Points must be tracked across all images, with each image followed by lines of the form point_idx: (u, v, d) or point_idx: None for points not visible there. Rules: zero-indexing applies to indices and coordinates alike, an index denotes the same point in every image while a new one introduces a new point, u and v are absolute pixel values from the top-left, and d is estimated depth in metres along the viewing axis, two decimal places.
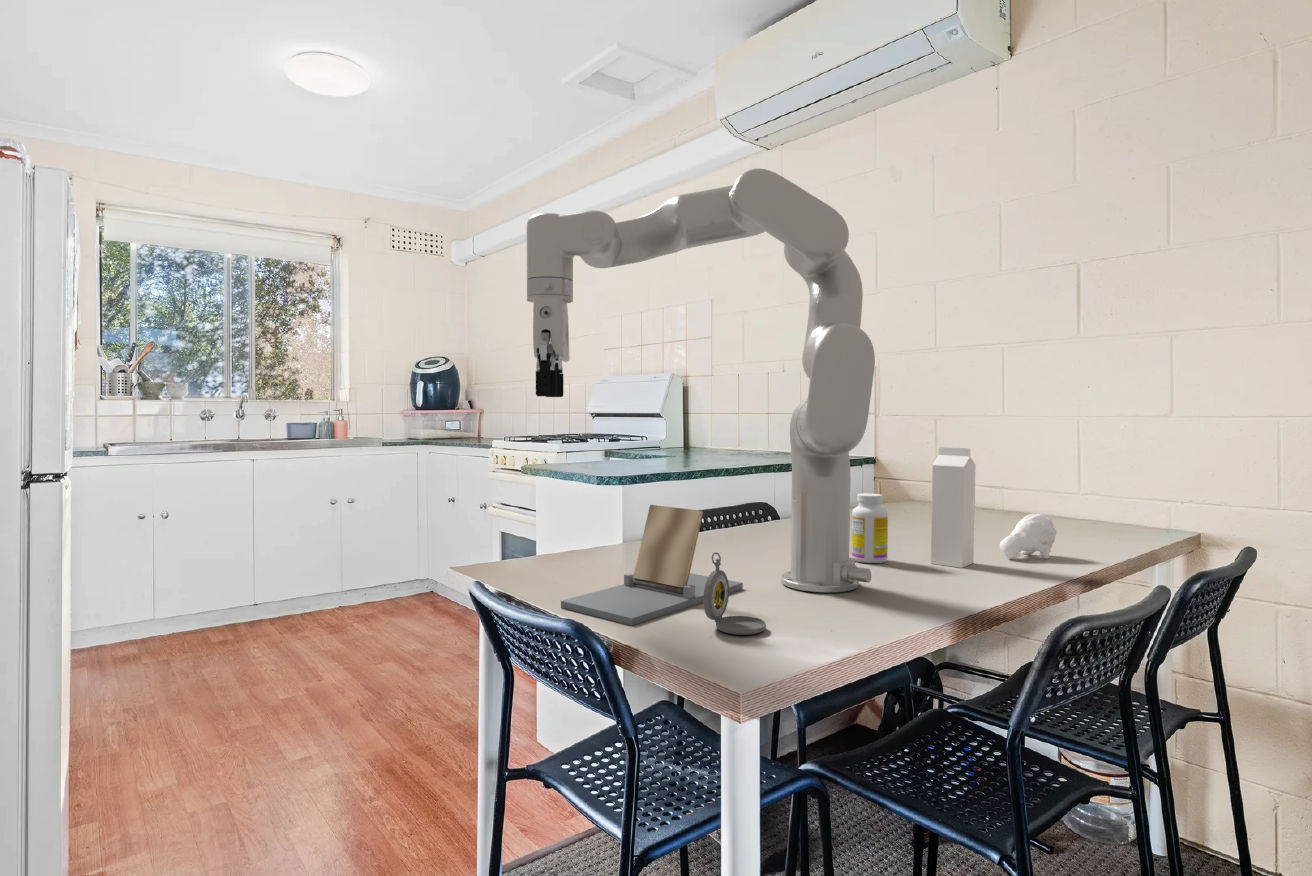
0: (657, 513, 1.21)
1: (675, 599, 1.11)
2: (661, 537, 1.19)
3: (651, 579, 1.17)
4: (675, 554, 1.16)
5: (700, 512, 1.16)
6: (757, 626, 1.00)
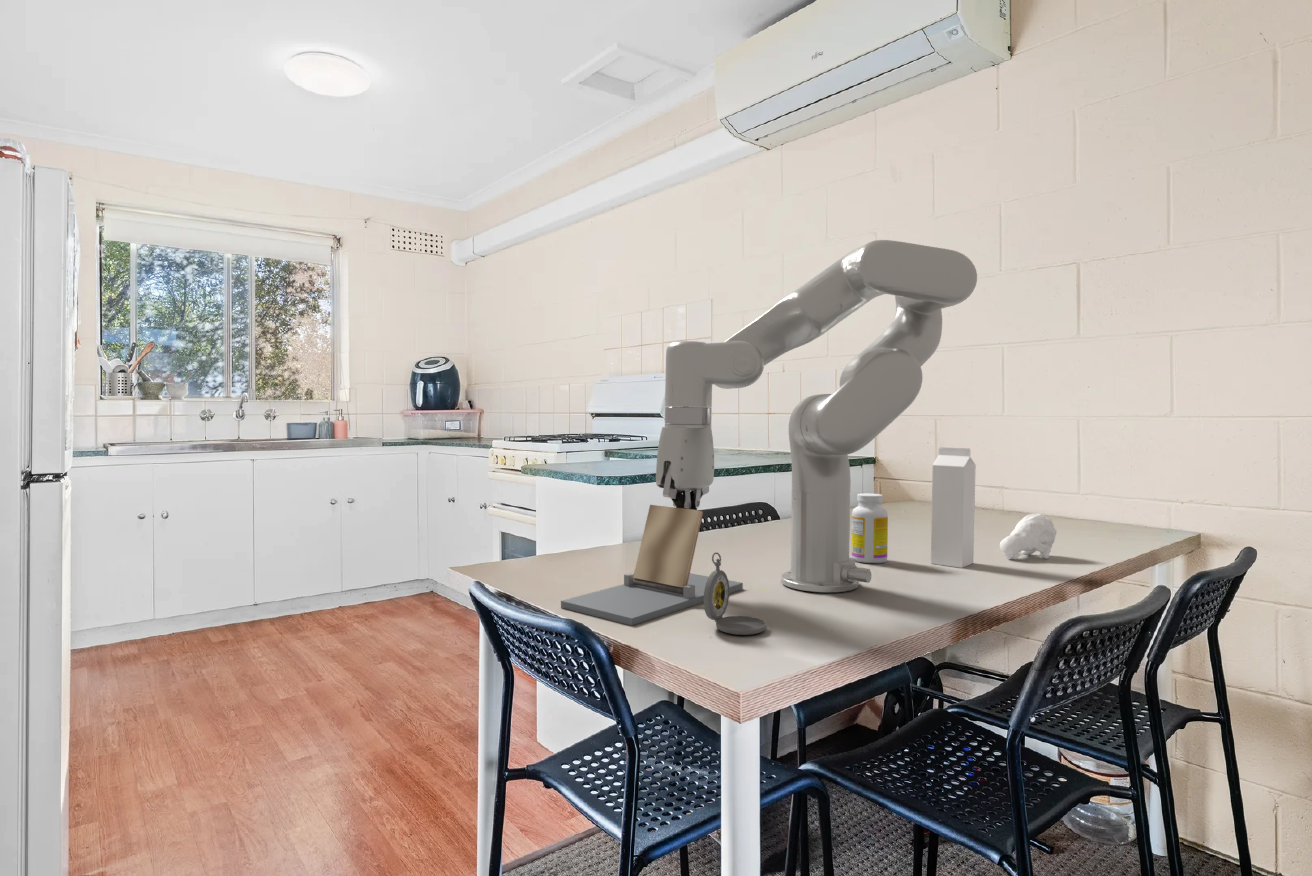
0: (657, 513, 1.21)
1: (675, 599, 1.11)
2: (661, 537, 1.19)
3: (651, 579, 1.17)
4: (675, 554, 1.16)
5: (700, 512, 1.16)
6: (757, 626, 1.00)
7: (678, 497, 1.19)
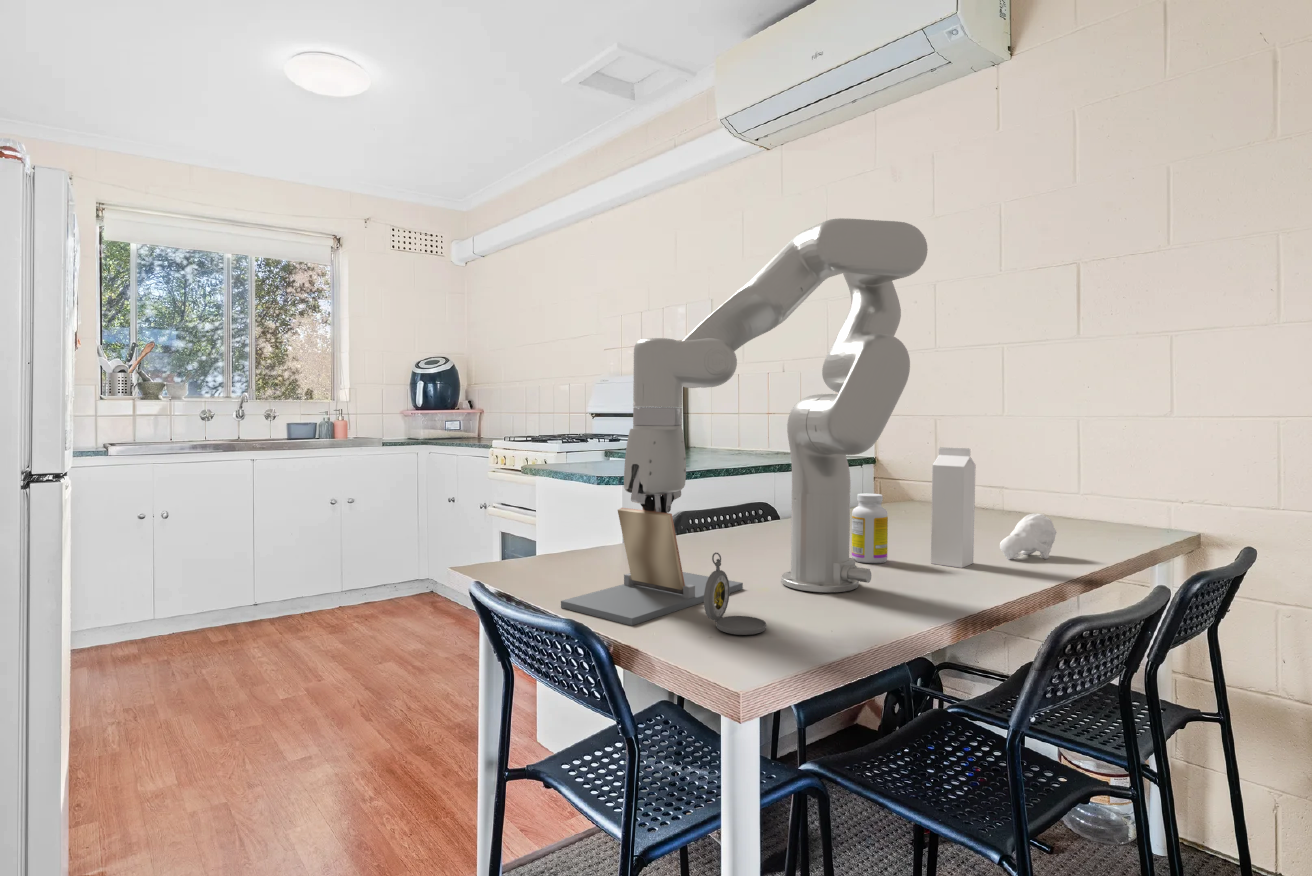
0: (628, 518, 1.15)
1: (675, 599, 1.11)
2: (642, 542, 1.15)
3: (649, 581, 1.17)
4: (662, 559, 1.13)
5: (669, 516, 1.10)
6: (757, 626, 1.00)
7: (647, 502, 1.13)
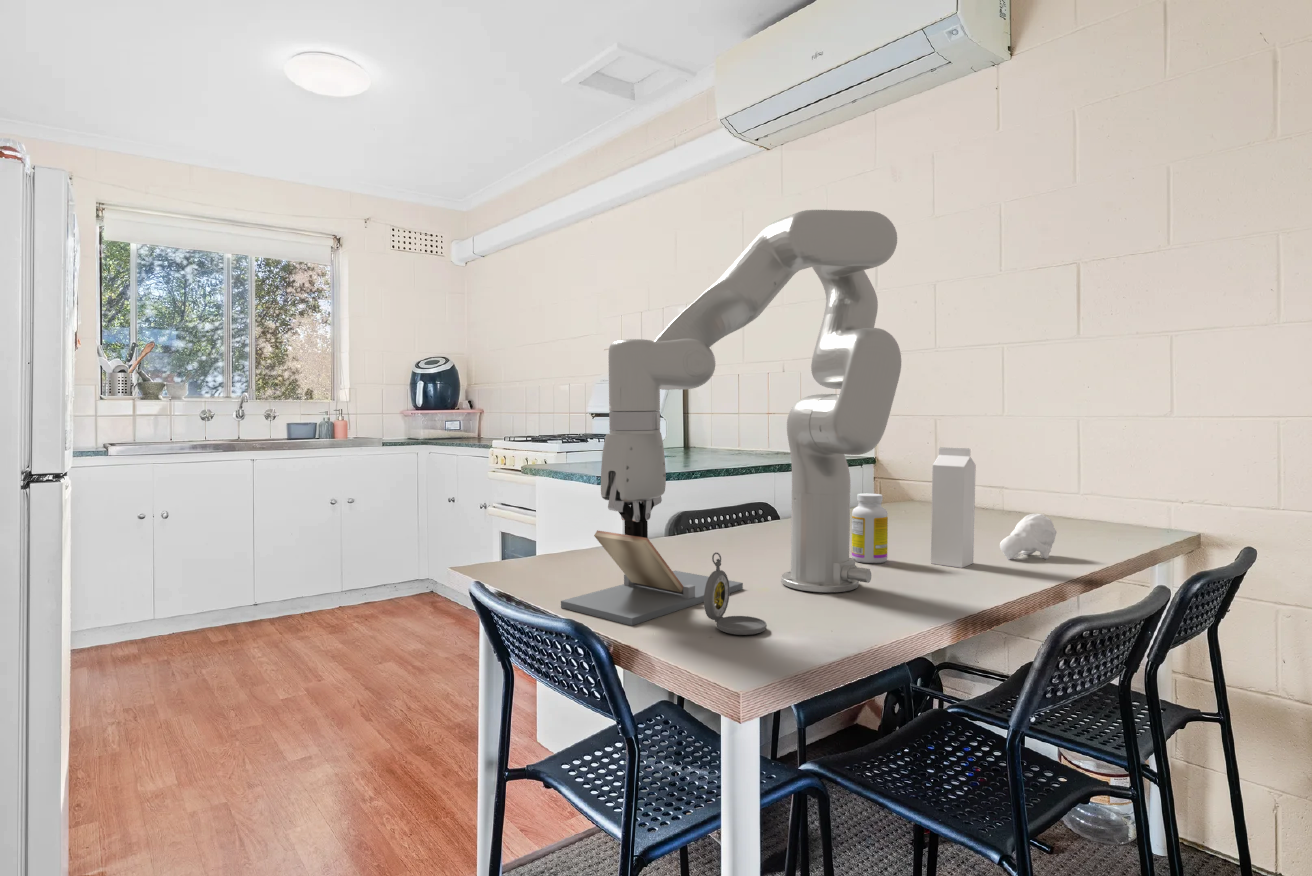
0: (607, 542, 1.12)
1: (675, 599, 1.11)
2: (628, 559, 1.13)
3: (648, 584, 1.17)
4: (653, 571, 1.12)
5: (646, 542, 1.06)
6: (758, 626, 1.00)
7: (625, 510, 1.09)
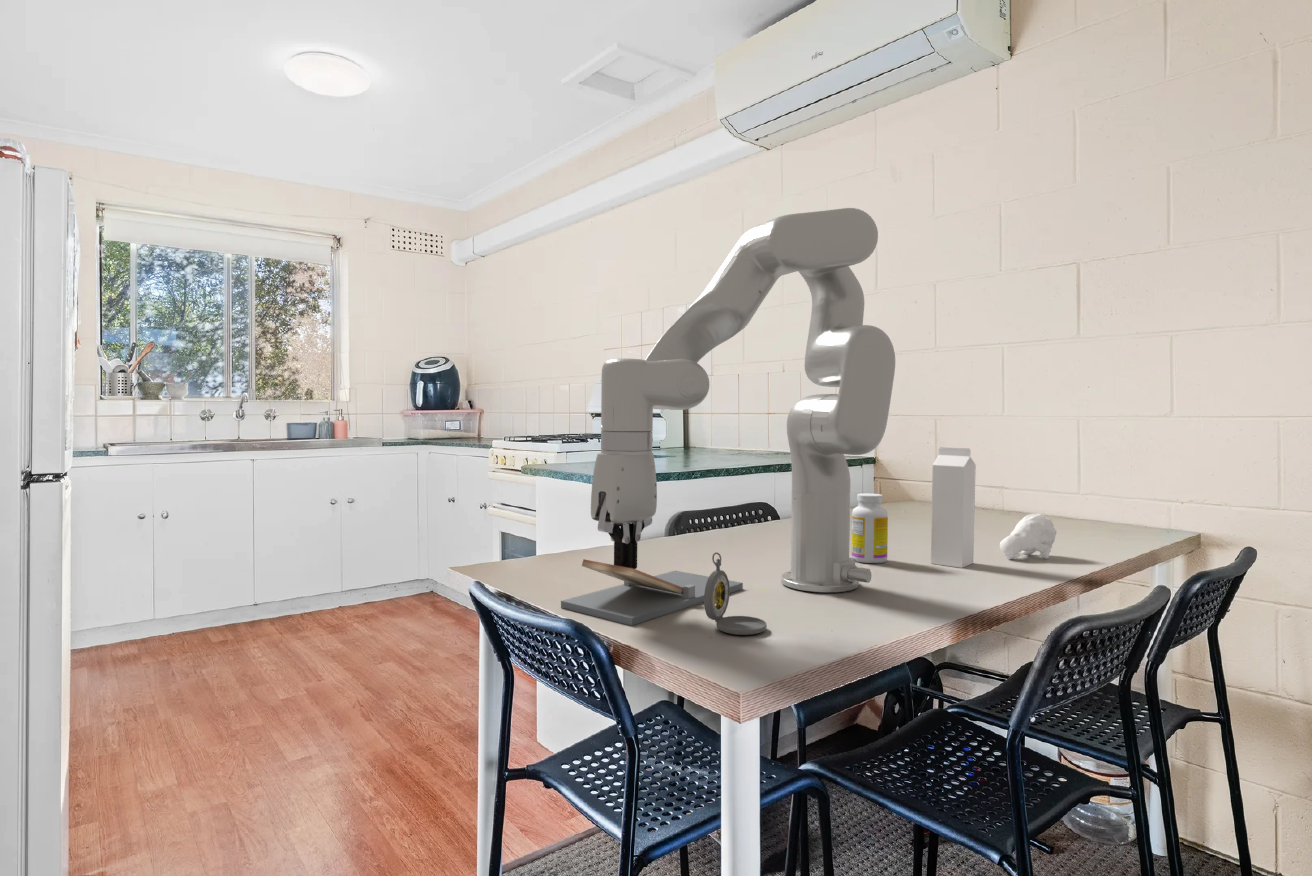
0: (596, 569, 1.10)
1: (675, 599, 1.11)
2: (621, 577, 1.12)
3: None
4: (648, 584, 1.11)
5: (634, 573, 1.05)
6: (758, 626, 1.00)
7: (615, 531, 1.07)
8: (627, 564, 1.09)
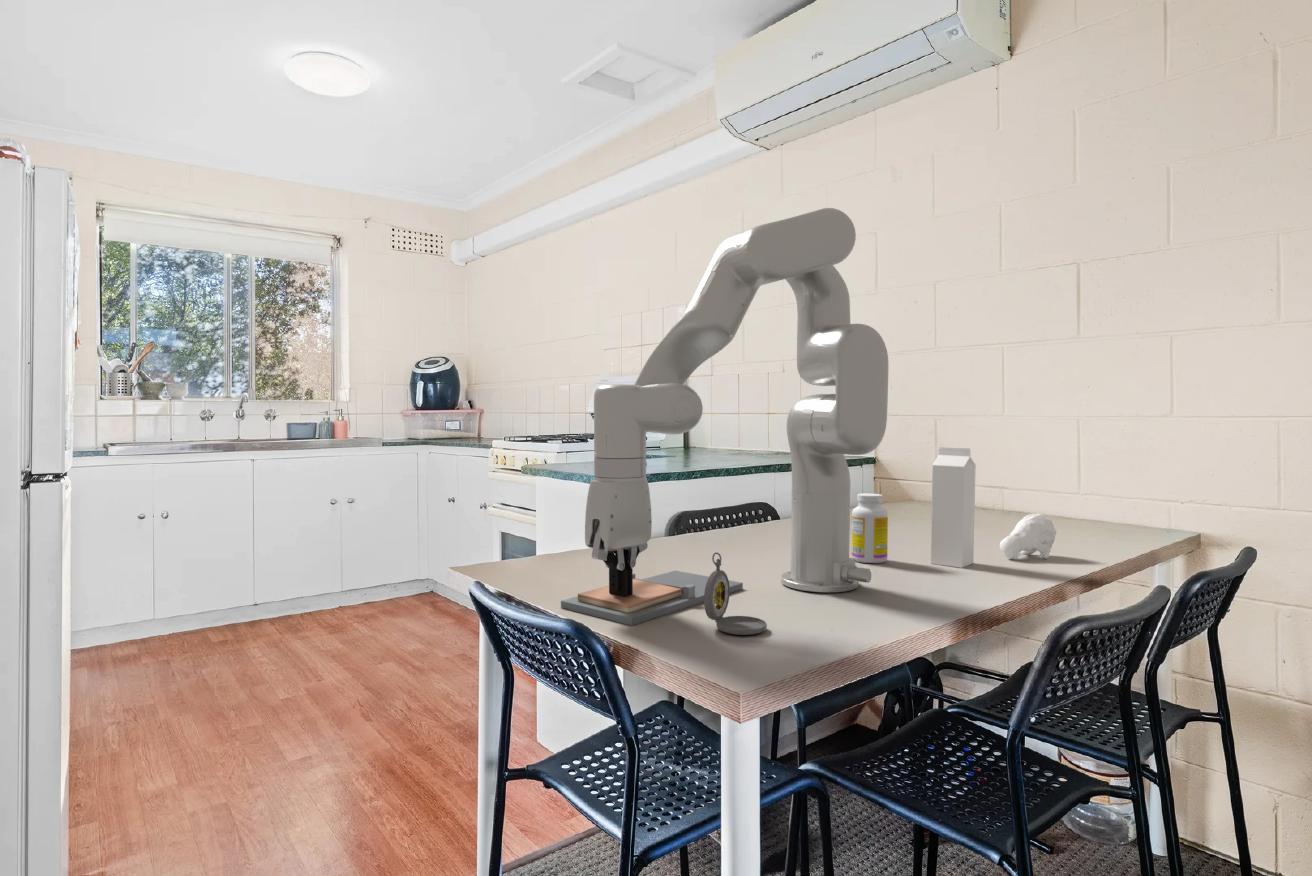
0: None
1: (675, 599, 1.11)
2: None
3: None
4: None
5: (629, 609, 1.04)
6: (758, 626, 1.00)
7: (609, 558, 1.07)
8: (622, 591, 1.09)
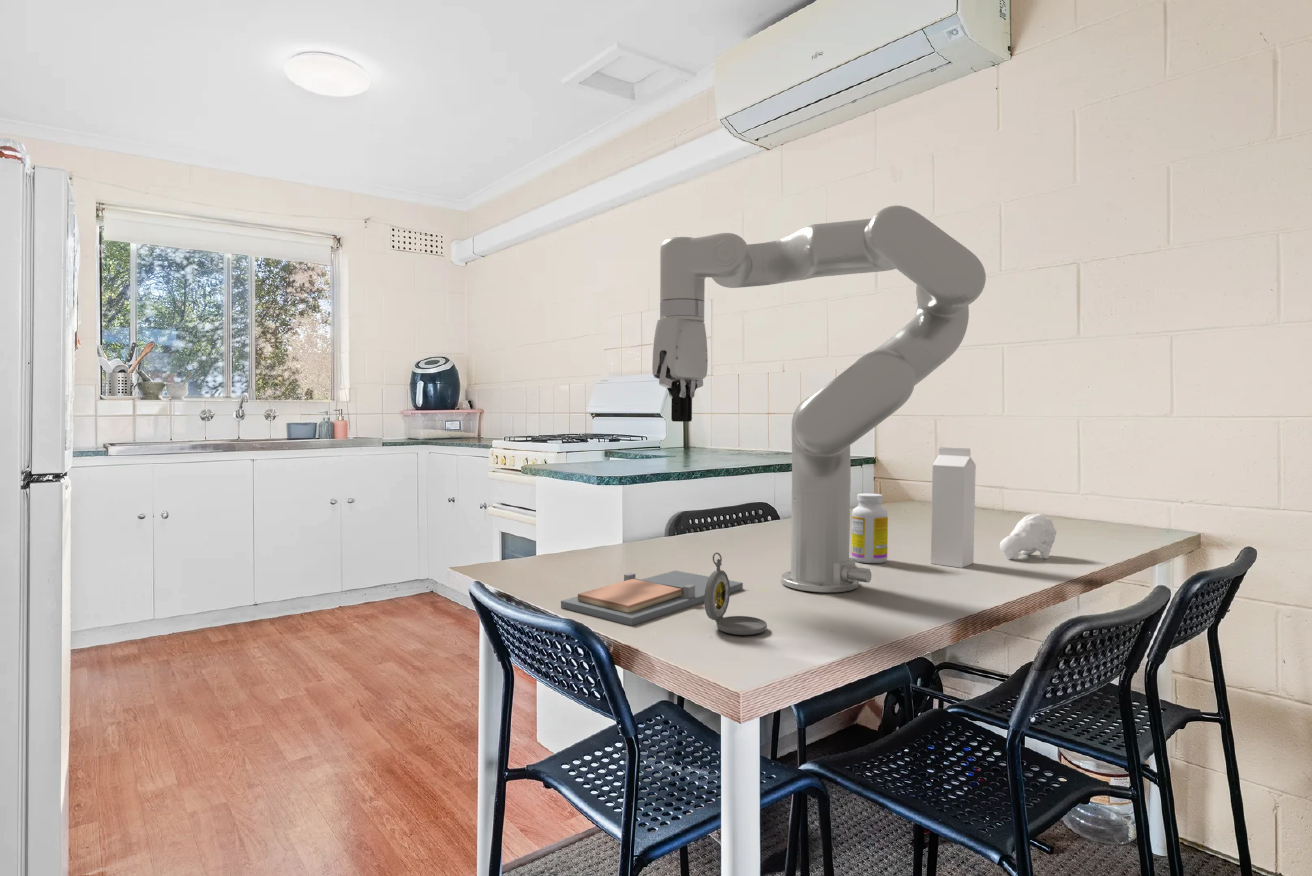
0: None
1: (675, 599, 1.11)
2: None
3: None
4: None
5: (629, 609, 1.04)
6: (758, 626, 1.00)
7: (674, 386, 1.25)
8: (683, 416, 1.27)
